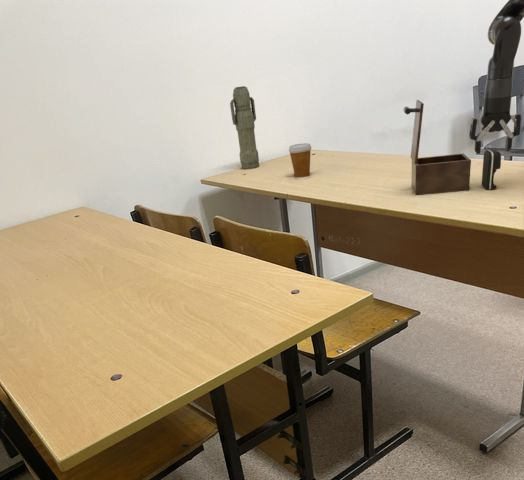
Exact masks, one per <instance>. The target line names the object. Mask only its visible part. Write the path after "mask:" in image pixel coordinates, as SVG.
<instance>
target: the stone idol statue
mask: <svg viewBox="0 0 524 480" xmlns="http://www.w3.org/2000/svg"><path fill="white" fill-rule="evenodd" d="M229 107H230V113H231V120H232V121H231V122H232V125H234V126H235V130H236V132H237V138H238V146H239V161H240V166H241V169H242V170H253V169H257V168H259V167H260V157H259V151H258V149H257V143H256V135H255V128H256V127H255V122H256V120H257V116H256V114H257V113H256V105H255V99H254V98H253V97H252V96H250V91H249V89H248V87H247V86H245V85H243V86H236V87H234V88H233V92H232V99H231V100H230V103H229Z"/></svg>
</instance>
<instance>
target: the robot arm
mask: <svg viewBox="0 0 524 480" xmlns="http://www.w3.org/2000/svg"><path fill="white" fill-rule="evenodd" d="M523 19H524V0H508V1H507V2H506V3H505V4H504V5H503V7H502V8H501V9H500V11H499V12H498V13H497V14H496V15H495V17H494V18H493V20H492V21H491V23H490V25H489V26H488V30H487V40H488V42H489V43H490V44H492V45H493V51H492V56H491V57H490V58H489V60H488V63H487V72H486V73H487V74H486V82H485V86H484V93H483V109H482V116H481V118H475V117H472V118H471V120H470V126H469V127H470V128H469V135H468V138H469V139H470V140H472V141H474V153H476V154H477V155H480V154H481V150H482V149H481V147H482V139H483V138H484V136H486V135H487V133H494V132H502V131H503V133H504V134H505V135H506V138H505V146H504V151H505V152H510V150H511V149H512V147H513V139H514V138H515V137H517V136H520V134H521V122H522V115H521V114H520V113H515V114H511V104H512V97H513V87H514V85H513V84H514V83H513V82H514V81H513V79H514V69H515V67H514V66H515V59H516V55H517V53H518V48H519V45H520V42H521V37H522V24H521V21H523ZM510 121H511V122H513V131H511V128H510V127H509V126H508V124H509V122H510ZM480 124H481V125H482V127H481V129H479V131H478V133H477V134H476V131H477V127H478V126H479V125H480Z"/></svg>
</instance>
